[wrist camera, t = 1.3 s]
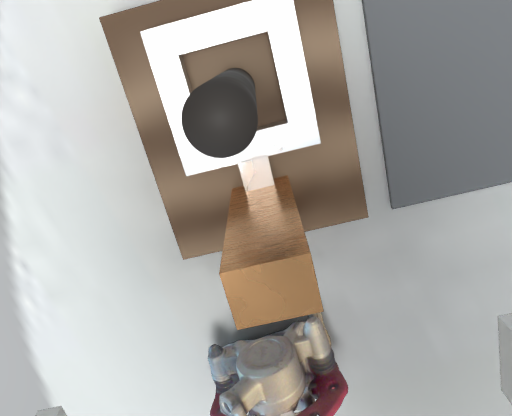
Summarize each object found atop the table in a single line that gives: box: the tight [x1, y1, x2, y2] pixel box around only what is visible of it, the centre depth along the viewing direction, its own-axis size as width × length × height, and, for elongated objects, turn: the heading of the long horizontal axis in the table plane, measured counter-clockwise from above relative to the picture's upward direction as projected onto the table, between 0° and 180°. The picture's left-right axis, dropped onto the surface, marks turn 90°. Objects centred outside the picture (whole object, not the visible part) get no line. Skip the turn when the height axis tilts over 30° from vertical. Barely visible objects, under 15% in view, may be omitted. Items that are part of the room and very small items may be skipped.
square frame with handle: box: [140, 0, 324, 330], centre depth 22 cm, size 14×9×12 cm, turn 14°
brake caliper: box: [208, 313, 348, 416], centre depth 34 cm, size 11×11×12 cm
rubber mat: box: [362, 0, 512, 209], centre depth 29 cm, size 16×15×1 cm
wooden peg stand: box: [99, 0, 368, 260], centre depth 22 cm, size 17×14×17 cm
